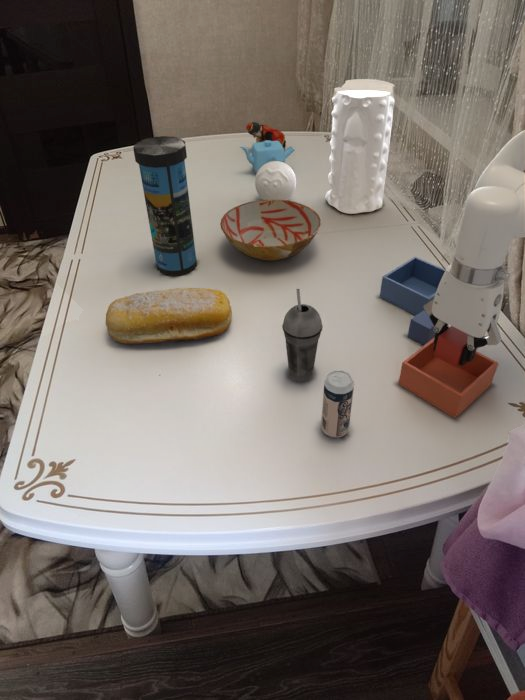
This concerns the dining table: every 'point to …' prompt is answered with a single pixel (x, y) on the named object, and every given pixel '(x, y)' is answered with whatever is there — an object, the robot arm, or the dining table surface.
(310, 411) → the dining table surface
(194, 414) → the dining table surface
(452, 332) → the red block
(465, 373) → the orange bin
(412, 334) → the blue block
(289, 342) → the beverage cup
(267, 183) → the decorative ball
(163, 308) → the bread
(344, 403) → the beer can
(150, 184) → the advertising column
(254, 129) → the figurine
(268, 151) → the teapot
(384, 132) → the vase
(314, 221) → the bowl
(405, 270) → the blue bin
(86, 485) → the dining table surface
